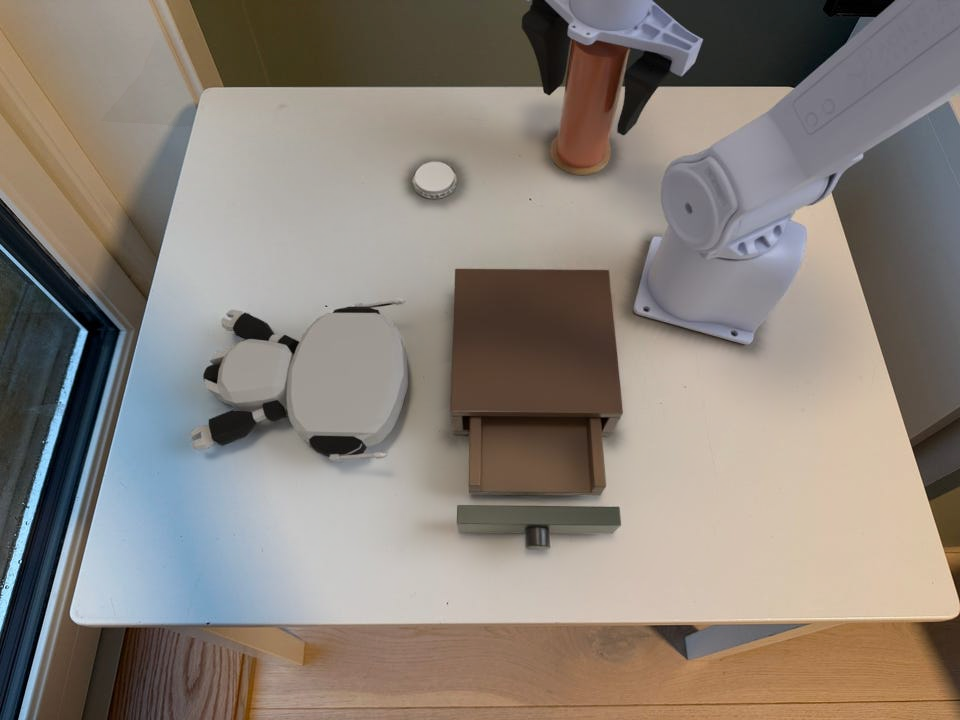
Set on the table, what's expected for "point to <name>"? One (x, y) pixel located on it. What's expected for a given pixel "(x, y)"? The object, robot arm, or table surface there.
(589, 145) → the orange cylinder post
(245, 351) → the robot toy
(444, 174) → the white bottle cap
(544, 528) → the drawer
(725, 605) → the table surface
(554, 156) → the coaster
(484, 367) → the cabinet
